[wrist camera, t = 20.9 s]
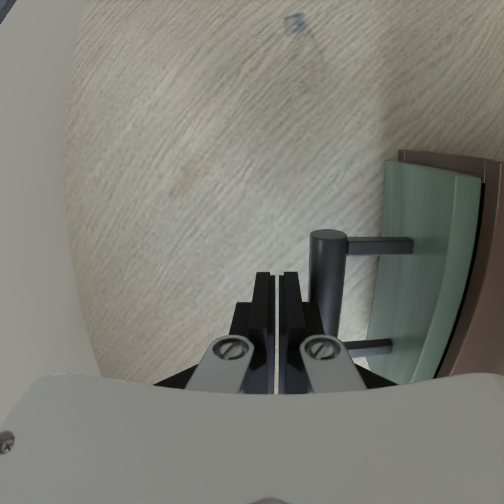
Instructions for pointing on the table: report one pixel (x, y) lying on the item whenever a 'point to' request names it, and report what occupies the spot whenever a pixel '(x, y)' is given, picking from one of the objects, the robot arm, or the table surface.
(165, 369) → the table surface
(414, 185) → the drawer
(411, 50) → the table surface
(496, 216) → the cabinet
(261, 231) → the table surface
